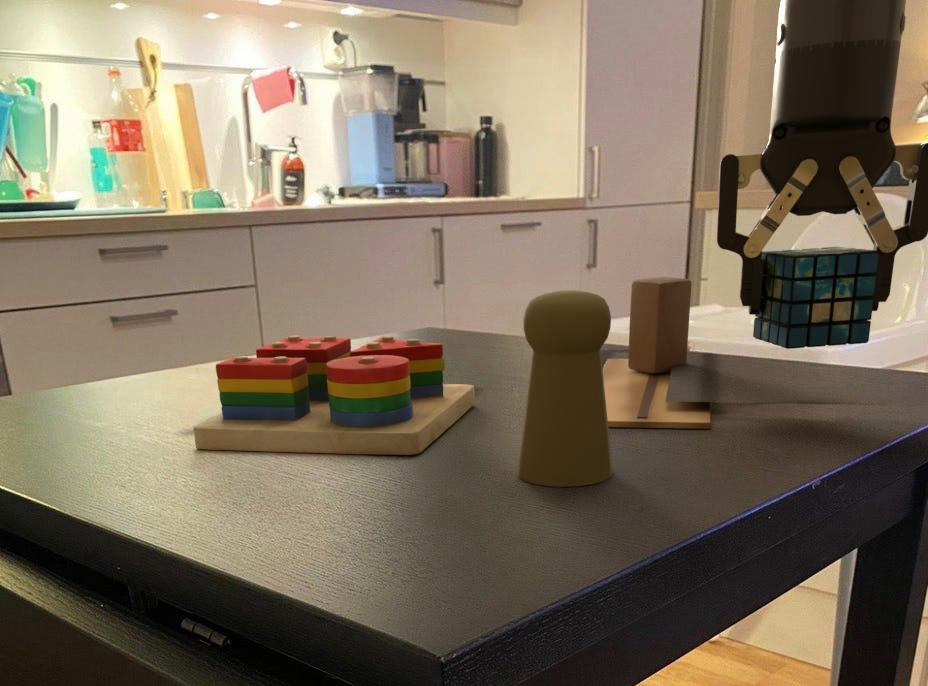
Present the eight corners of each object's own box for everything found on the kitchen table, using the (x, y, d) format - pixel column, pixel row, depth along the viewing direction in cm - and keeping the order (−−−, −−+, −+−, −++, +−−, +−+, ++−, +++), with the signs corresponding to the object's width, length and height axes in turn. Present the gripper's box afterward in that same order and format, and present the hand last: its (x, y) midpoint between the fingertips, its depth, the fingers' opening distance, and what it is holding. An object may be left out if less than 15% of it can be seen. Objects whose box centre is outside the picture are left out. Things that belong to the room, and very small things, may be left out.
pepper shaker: (498, 476, 62) (495, 294, 57) (555, 456, 66) (557, 285, 61) (575, 492, 58) (579, 299, 54) (631, 470, 62) (639, 288, 57)
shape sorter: (287, 401, 87) (280, 330, 84) (476, 404, 82) (474, 330, 80) (192, 449, 72) (180, 365, 69) (418, 456, 67) (414, 366, 65)
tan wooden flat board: (709, 363, 96) (710, 357, 96) (710, 429, 71) (710, 421, 71) (607, 363, 98) (607, 357, 98) (574, 426, 74) (574, 418, 73)
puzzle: (752, 338, 72) (758, 251, 70) (829, 332, 73) (838, 246, 70) (786, 349, 67) (794, 256, 64) (869, 343, 67) (881, 250, 65)
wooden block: (687, 370, 90) (693, 278, 87) (654, 375, 88) (659, 282, 85) (658, 364, 93) (663, 276, 90) (625, 369, 91) (629, 279, 88)
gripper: (946, 40, 64) (909, 303, 71) (720, 59, 67) (706, 308, 74) (974, 24, 57) (931, 316, 64) (722, 46, 61) (707, 321, 67)
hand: (810, 311), depth 69 cm, fingers closed on puzzle, 7 cm apart
